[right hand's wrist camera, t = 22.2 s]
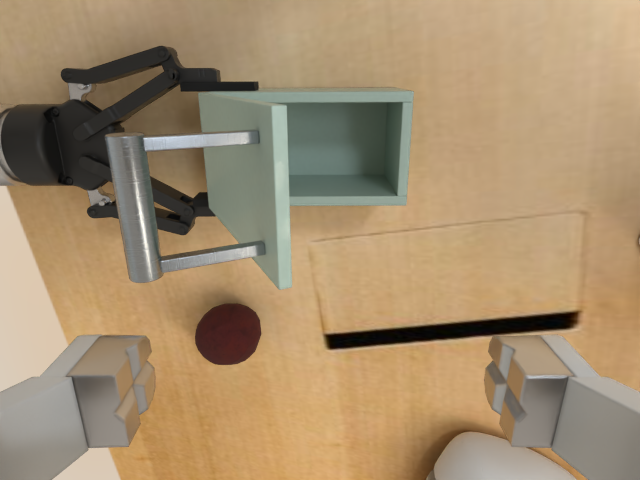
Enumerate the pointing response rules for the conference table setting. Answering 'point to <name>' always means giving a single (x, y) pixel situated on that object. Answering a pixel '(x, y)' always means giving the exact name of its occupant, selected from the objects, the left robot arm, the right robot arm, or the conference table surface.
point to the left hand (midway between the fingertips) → (259, 145)
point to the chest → (344, 143)
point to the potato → (228, 334)
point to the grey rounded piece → (493, 461)
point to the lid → (213, 188)
